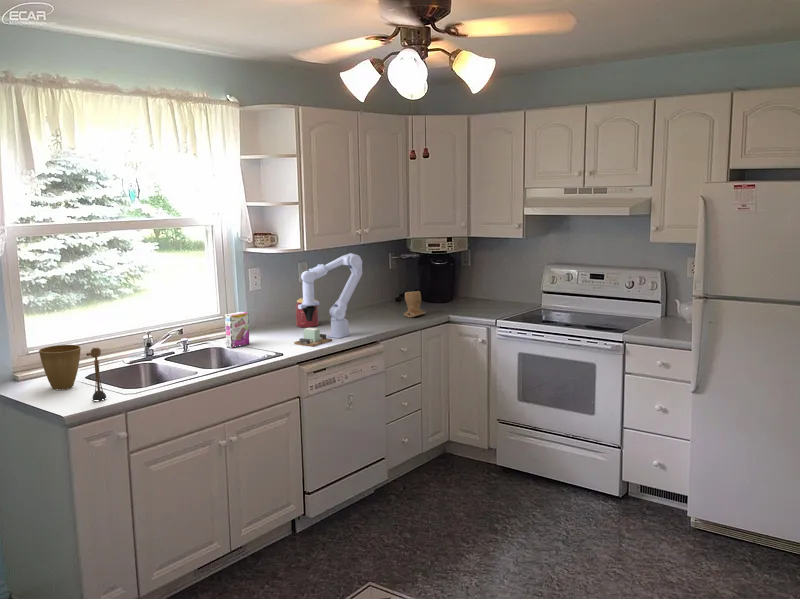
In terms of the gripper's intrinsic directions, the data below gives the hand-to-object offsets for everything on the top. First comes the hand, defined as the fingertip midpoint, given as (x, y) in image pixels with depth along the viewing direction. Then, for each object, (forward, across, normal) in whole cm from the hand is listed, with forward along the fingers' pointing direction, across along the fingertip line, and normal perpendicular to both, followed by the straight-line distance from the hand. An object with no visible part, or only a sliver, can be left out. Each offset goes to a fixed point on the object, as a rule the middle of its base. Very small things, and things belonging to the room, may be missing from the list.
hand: (309, 320), depth 366 cm
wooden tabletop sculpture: (+10, +122, -1) cm, 122 cm away
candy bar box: (+10, +30, -21) cm, 38 cm away
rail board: (+9, +6, +7) cm, 13 cm away
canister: (+10, -27, -24) cm, 37 cm away
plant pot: (+10, +118, -28) cm, 122 cm away
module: (+8, +6, +7) cm, 13 cm away
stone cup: (+10, -81, +13) cm, 83 cm away
